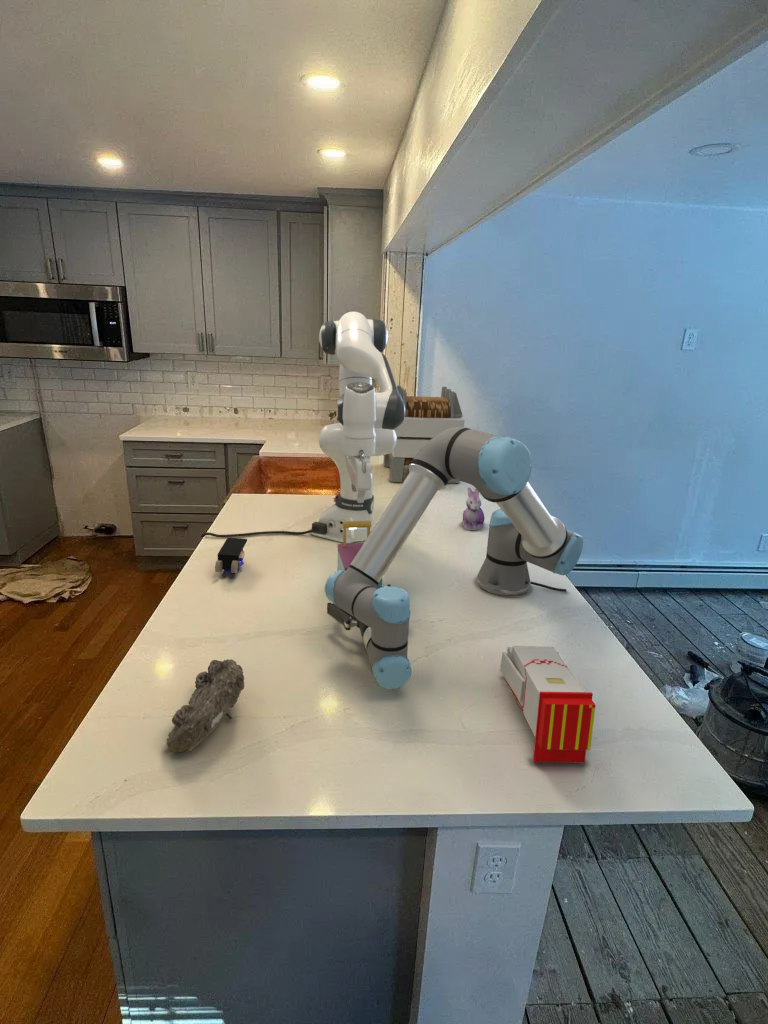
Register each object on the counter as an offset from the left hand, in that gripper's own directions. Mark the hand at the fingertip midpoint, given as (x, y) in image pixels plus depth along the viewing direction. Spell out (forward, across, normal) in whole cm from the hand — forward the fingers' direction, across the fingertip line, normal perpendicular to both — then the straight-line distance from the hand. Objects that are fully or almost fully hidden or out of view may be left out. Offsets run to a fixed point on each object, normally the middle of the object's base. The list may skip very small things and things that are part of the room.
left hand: (357, 496), depth 154 cm
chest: (+26, -6, 0) cm, 27 cm away
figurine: (+26, +40, -50) cm, 70 cm away
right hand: (+20, -16, 0) cm, 26 cm away
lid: (+16, -5, 0) cm, 17 cm away
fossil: (+26, -52, +35) cm, 68 cm away
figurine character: (+26, +13, +35) cm, 45 cm away
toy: (+26, -60, -28) cm, 71 cm away
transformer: (+27, +112, -49) cm, 125 cm away
